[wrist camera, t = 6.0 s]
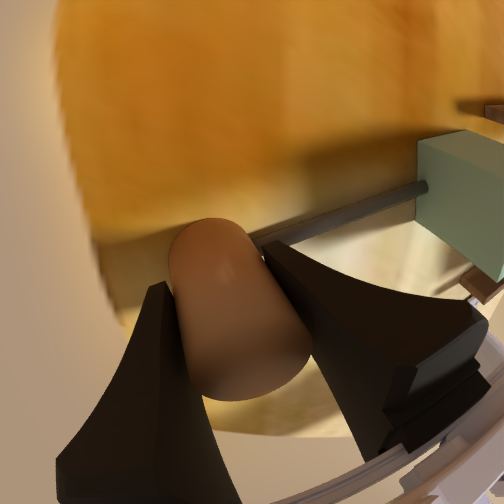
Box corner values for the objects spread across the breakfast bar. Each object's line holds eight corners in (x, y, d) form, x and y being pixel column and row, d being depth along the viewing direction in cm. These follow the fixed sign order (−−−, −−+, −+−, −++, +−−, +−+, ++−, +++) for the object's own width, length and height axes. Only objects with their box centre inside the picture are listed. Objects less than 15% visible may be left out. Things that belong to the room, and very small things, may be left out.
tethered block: (462, 199, 15) (535, 247, 11) (190, 311, 13) (222, 432, 8) (467, 129, 13) (554, 168, 8) (149, 224, 11) (159, 353, 6)
